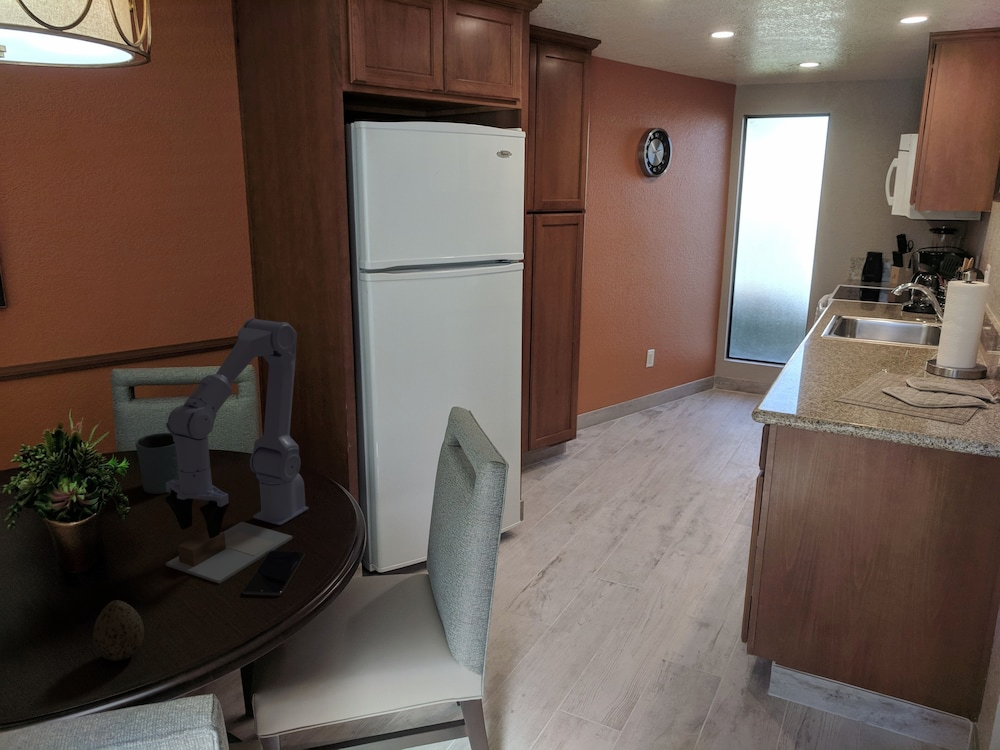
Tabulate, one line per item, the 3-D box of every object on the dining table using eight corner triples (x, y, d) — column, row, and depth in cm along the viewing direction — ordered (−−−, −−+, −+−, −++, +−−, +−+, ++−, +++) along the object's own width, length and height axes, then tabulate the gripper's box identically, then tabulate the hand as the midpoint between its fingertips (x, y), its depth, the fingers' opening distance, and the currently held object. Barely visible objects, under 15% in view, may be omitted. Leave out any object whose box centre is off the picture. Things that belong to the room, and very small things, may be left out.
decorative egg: (152, 641, 123) (145, 587, 120) (139, 669, 116) (131, 612, 113) (105, 645, 122) (98, 590, 119) (89, 673, 115) (81, 616, 112)
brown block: (211, 544, 153) (209, 528, 152) (225, 548, 152) (224, 533, 151) (179, 561, 146) (177, 545, 145) (194, 566, 145) (192, 550, 144)
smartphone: (305, 551, 152) (280, 593, 136) (305, 556, 152) (281, 598, 136) (269, 550, 152) (240, 591, 136) (269, 554, 152) (241, 597, 136)
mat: (242, 524, 163) (241, 521, 163) (292, 538, 158) (292, 535, 157) (166, 565, 146) (165, 562, 146) (219, 583, 140) (219, 580, 140)
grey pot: (153, 477, 187) (148, 432, 184) (193, 478, 186) (189, 433, 183) (132, 494, 177) (126, 446, 174) (175, 496, 177) (169, 448, 173)
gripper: (150, 467, 144) (157, 531, 147) (205, 481, 137) (211, 548, 141) (180, 455, 150) (186, 517, 153) (234, 468, 144) (239, 533, 147)
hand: (200, 531), depth 148 cm, fingers open, 7 cm apart
